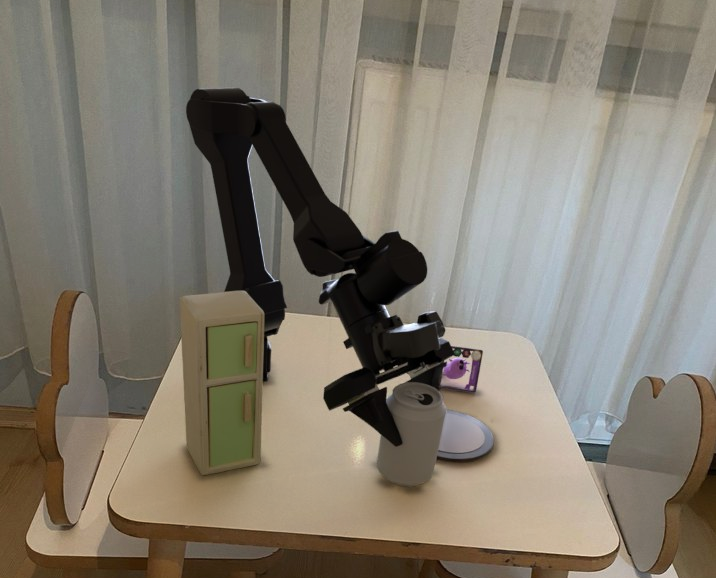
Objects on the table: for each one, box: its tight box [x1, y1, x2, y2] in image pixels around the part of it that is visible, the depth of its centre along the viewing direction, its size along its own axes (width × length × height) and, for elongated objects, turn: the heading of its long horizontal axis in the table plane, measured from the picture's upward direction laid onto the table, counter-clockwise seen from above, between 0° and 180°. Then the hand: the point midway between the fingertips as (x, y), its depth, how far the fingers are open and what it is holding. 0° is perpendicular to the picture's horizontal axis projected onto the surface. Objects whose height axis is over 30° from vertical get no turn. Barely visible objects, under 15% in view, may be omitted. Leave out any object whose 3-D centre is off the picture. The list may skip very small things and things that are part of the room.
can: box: [376, 381, 447, 488], centre depth 89 cm, size 8×8×12 cm
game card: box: [439, 345, 484, 393], centre depth 113 cm, size 7×5×9 cm
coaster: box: [436, 409, 494, 463], centre depth 101 cm, size 13×13×1 cm
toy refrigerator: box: [179, 291, 264, 476], centre depth 85 cm, size 8×7×21 cm
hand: (419, 435), depth 88 cm, fingers closed on can, 7 cm apart
